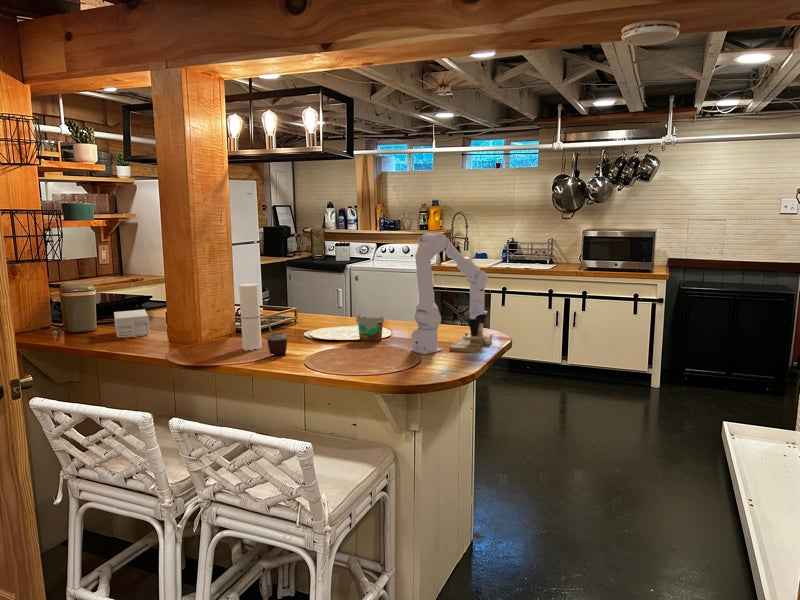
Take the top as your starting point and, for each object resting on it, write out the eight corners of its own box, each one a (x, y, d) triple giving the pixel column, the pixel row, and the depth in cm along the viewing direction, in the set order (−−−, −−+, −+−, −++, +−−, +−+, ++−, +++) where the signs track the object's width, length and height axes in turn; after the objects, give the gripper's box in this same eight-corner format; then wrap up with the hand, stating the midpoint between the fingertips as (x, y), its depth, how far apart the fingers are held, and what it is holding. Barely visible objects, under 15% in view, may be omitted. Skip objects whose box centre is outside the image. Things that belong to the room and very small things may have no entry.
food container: (350, 341, 237) (350, 317, 235) (358, 338, 242) (358, 314, 240) (377, 344, 231) (376, 319, 229) (384, 340, 236) (384, 316, 235)
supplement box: (115, 332, 260) (113, 311, 258) (147, 329, 266) (145, 309, 265) (116, 339, 245) (114, 318, 244) (150, 336, 251) (148, 315, 250)
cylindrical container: (249, 351, 222) (245, 286, 218) (239, 348, 227) (235, 285, 222) (265, 347, 227) (262, 284, 223) (254, 345, 232) (251, 283, 228)
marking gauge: (488, 344, 226) (489, 326, 225) (462, 342, 230) (462, 324, 229) (492, 341, 232) (492, 323, 231) (466, 339, 236) (466, 321, 235)
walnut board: (475, 352, 215) (475, 348, 215) (449, 350, 219) (449, 346, 219) (487, 341, 234) (487, 337, 233) (463, 339, 237) (463, 335, 237)
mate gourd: (290, 353, 218) (288, 314, 216) (282, 358, 210) (280, 318, 208) (271, 352, 219) (269, 313, 217) (263, 358, 212) (261, 317, 209)
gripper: (482, 303, 220) (482, 338, 223) (491, 297, 234) (490, 330, 236) (464, 302, 223) (464, 337, 225) (474, 296, 236) (473, 329, 238)
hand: (476, 333), depth 231 cm, fingers open, 7 cm apart
